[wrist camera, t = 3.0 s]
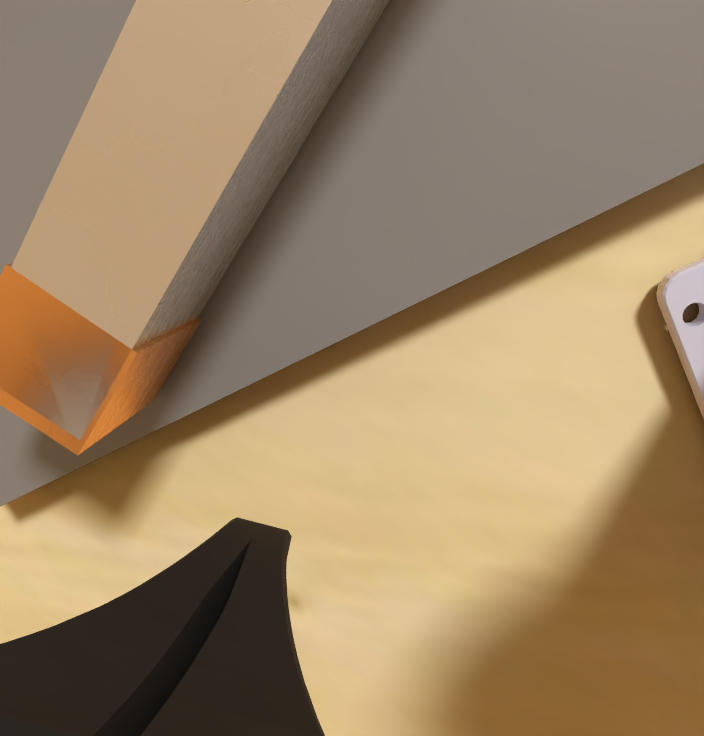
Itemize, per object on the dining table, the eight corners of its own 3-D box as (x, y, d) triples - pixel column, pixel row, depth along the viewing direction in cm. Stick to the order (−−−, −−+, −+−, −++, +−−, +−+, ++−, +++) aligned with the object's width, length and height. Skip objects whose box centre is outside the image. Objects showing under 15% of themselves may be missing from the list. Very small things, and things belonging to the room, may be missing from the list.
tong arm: (511, -534, 8) (565, -945, 5) (647, -415, 8) (774, -751, 5) (57, 338, 13) (-46, 374, 10) (152, 401, 13) (77, 455, 10)
